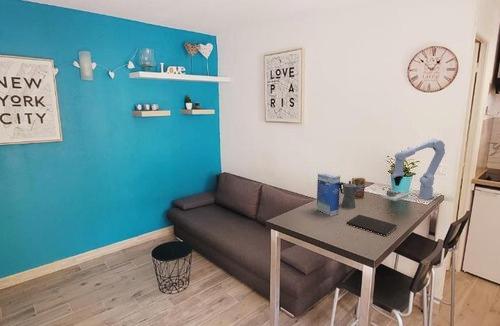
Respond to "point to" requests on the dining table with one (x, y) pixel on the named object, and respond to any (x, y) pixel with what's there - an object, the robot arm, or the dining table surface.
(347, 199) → the coffeepot
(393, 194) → the fader cap
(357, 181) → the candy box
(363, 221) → the black spiral notebook
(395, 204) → the dining table surface
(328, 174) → the string lights box
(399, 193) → the console
